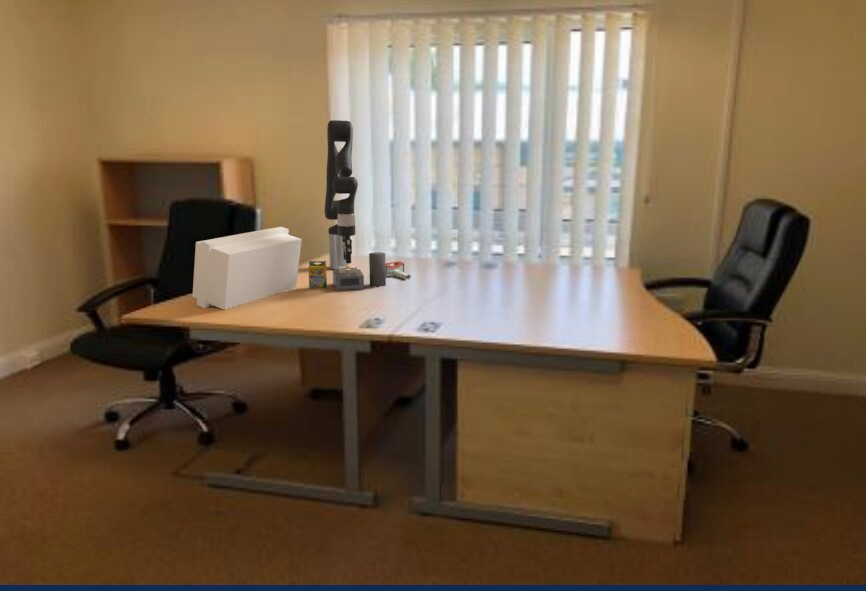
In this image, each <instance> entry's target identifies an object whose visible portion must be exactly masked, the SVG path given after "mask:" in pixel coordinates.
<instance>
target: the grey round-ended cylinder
mask: <svg viewBox="0 0 866 591" xmlns="http://www.w3.org/2000/svg"><path fill="white" fill-rule="evenodd" d="M385 263H386V253H385V252H376V251H375V252H370V253H368V264H369V286H370V287H373V286H376V287H375V288H378V287H377V286H382V287H386V285H387V282H386V281H387V275H386V269H385Z"/></svg>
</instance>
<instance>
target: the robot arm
mask: <svg viewBox="0 0 866 591" xmlns="http://www.w3.org/2000/svg"><path fill="white" fill-rule="evenodd" d="M326 128H327V129H326V130H327V134H326V135H327V160H326V162H327V163H326V178H325V179H326V187H325V188H326V190H325V191H326V192H325V199H324V200H325V202H324V215H325V216H324V217H325V218H326V219H327V220H329V221H330V220H331V221H332V220H333V221H334V220H335V221H336V220H337V223H336V224H334V225H332V226H330V227H328V232H327V233H328V252H329V254H328V255H329V256H328V258H329V269H331V270H339V267H350V266H349V264H352V254H353V245H352V244H353V240H352V238H351V237H353V236H356V216H355V199H356V195H357V191H358V186H359V182H358V180H357V178H356V177H354V176H352V174H353V162H352V161H353V160H352V154H353V153H352V152H353V137H354V131H353V130H354V129H353V124H352V122H351V121H349V120H340V119H339V120H335V119H333V120H329V121H328V123H327V127H326ZM336 142H338V143H339V142H341V143H344V144H343V147H341V149H340V150H338V149H337V146H336V144H335V143H336ZM337 194H338V195H344V194H347V195H349V196H348V197H346V198H342V199H339V200H338V199H337V200H334V199H335V197H336V195H337Z"/></svg>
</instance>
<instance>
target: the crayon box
mask: <svg viewBox="0 0 866 591" xmlns="http://www.w3.org/2000/svg"><path fill="white" fill-rule="evenodd" d="M308 262H309V263H308V264H309V266H308V286H309V288H326V287H327V288H328V279H327V261H324V260H313V261H312V260H310V261H308ZM317 263H318V264H317ZM309 288H308V289H309ZM327 288H326V289H327Z"/></svg>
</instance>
